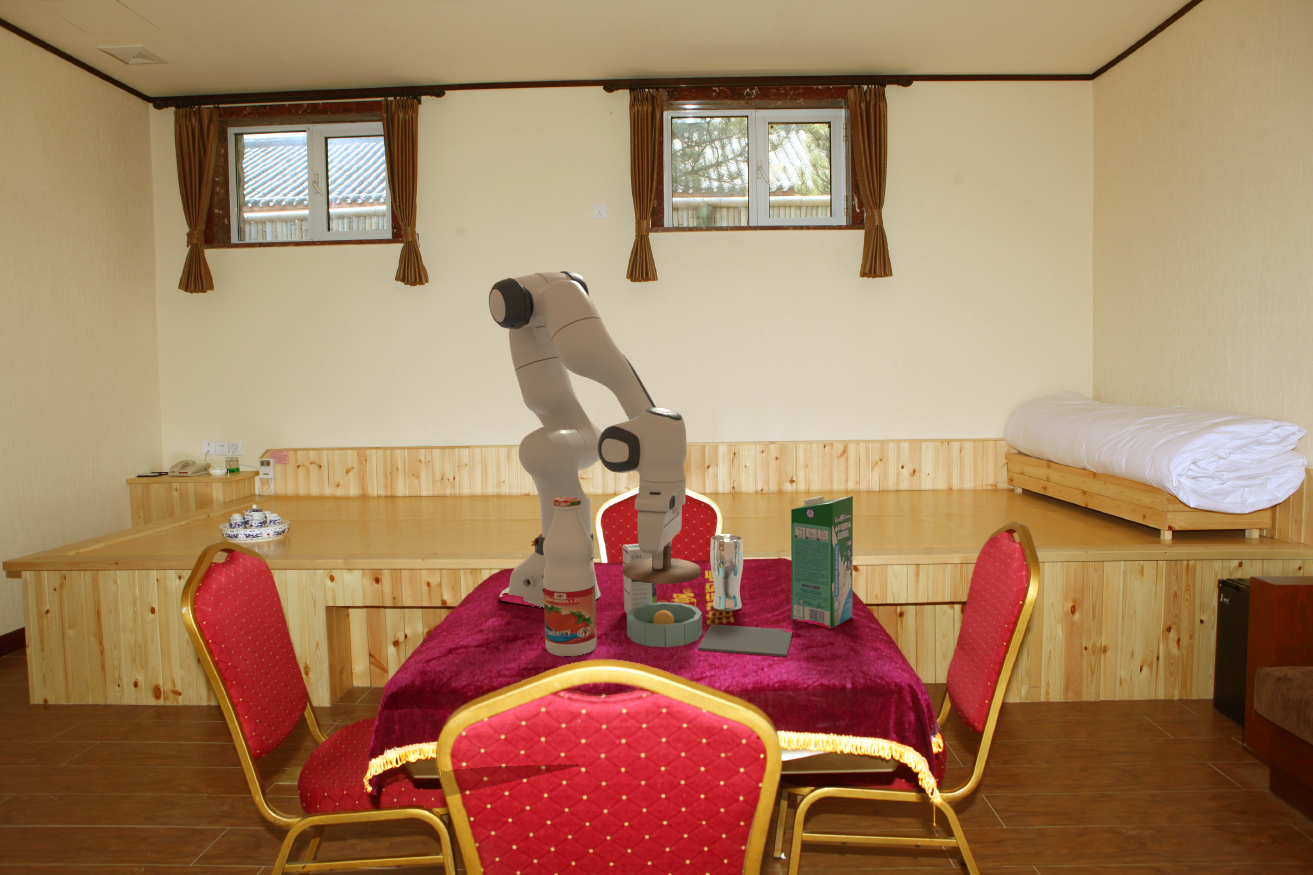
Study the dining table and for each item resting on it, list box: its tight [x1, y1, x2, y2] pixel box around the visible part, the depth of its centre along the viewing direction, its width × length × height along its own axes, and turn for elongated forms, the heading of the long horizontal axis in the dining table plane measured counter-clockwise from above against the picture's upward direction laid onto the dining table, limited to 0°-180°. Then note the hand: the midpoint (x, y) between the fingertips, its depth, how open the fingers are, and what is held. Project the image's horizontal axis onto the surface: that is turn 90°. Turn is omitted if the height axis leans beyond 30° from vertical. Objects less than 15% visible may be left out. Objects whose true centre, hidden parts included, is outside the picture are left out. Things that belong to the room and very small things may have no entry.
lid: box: [622, 545, 701, 585], centre depth 152 cm, size 15×15×5 cm
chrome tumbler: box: [709, 533, 744, 612], centre depth 168 cm, size 7×7×15 cm
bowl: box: [626, 601, 703, 648], centre depth 152 cm, size 14×14×4 cm
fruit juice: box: [543, 496, 598, 657], centre depth 144 cm, size 9×9×28 cm
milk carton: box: [790, 495, 854, 628], centre depth 158 cm, size 9×9×25 cm
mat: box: [697, 624, 793, 658], centre depth 148 cm, size 16×13×1 cm
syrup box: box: [621, 543, 658, 615], centre depth 164 cm, size 6×6×14 cm
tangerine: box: [653, 610, 674, 624], centre depth 152 cm, size 4×4×4 cm
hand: (661, 564), depth 152 cm, fingers closed on lid, 3 cm apart
